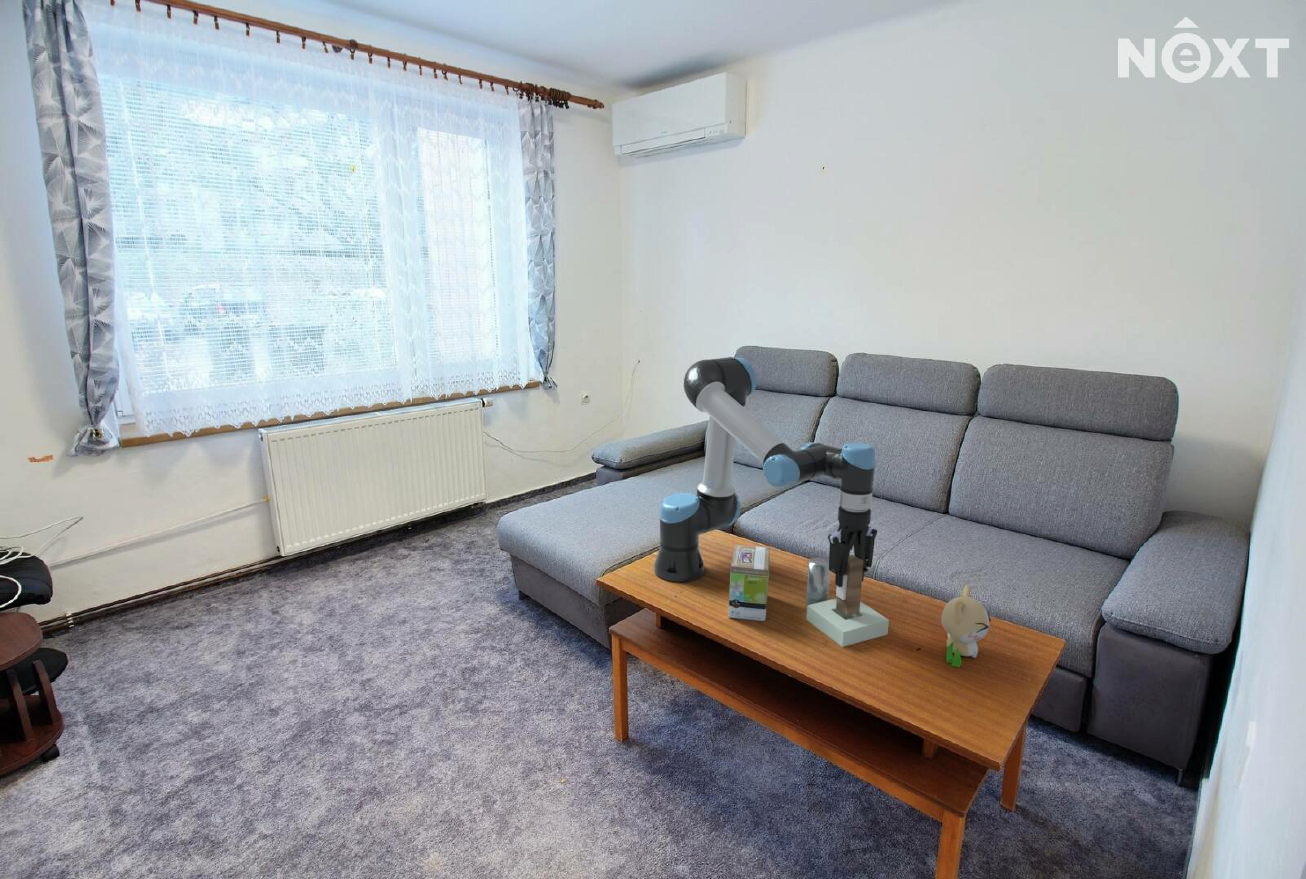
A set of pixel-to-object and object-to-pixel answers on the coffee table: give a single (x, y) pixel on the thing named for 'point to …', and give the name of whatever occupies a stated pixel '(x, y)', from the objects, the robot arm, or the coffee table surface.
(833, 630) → the socket block
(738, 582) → the tea box
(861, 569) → the square peg
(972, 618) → the kitten
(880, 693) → the coffee table surface
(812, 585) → the round peg
